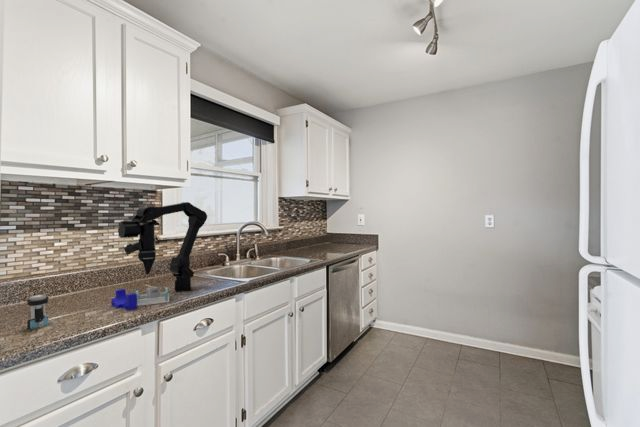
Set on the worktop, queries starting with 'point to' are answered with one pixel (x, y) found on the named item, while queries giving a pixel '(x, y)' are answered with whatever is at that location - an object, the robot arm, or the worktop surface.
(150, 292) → the usb wall charger
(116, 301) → the cable clip
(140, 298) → the end holder
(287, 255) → the worktop surface
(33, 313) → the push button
